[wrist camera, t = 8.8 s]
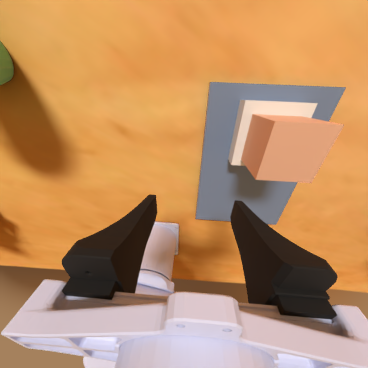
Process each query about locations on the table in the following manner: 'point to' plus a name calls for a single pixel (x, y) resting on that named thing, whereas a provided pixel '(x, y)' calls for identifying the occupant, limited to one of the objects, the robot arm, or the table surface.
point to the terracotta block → (287, 147)
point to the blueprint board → (239, 176)
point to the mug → (5, 65)
